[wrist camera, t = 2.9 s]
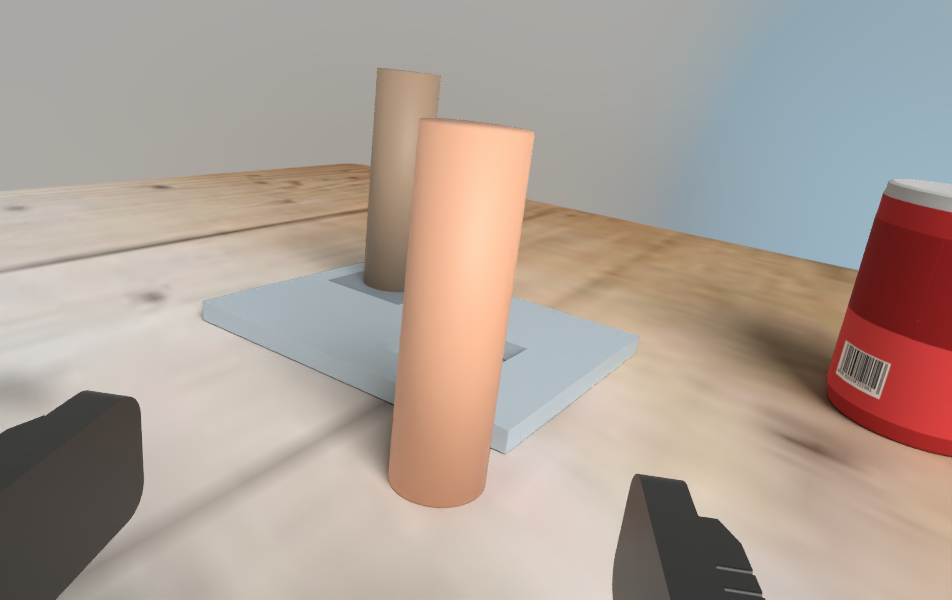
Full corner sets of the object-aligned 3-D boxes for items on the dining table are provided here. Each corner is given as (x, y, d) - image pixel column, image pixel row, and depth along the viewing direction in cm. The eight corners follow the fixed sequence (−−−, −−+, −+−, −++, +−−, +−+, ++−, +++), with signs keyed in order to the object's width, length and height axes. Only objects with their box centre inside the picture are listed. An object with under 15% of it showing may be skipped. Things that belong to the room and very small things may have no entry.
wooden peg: (367, 478, 23) (394, 117, 19) (427, 441, 26) (461, 118, 22) (448, 521, 21) (496, 135, 18) (503, 476, 24) (554, 134, 20)
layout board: (202, 319, 34) (199, 47, 30) (383, 271, 46) (398, 69, 42) (505, 454, 26) (558, 97, 21) (635, 352, 37) (687, 107, 33)
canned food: (1010, 485, 28) (1122, 225, 24) (806, 413, 32) (876, 183, 29) (1007, 423, 34) (1097, 206, 30) (834, 369, 38) (896, 174, 35)
